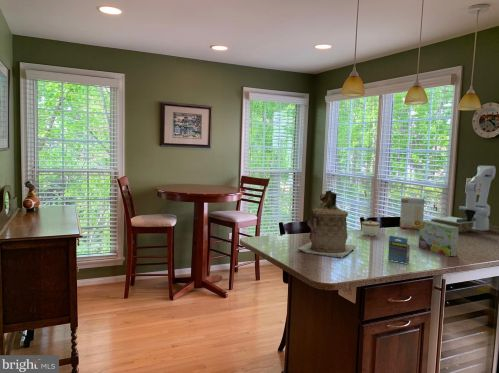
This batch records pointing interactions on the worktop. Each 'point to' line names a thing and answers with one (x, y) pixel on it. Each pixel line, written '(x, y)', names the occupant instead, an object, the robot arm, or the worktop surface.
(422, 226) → the snack box
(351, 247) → the cookie jar
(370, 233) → the lidded jar
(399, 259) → the label tape box
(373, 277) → the worktop surface
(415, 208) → the cracker box
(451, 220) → the lid
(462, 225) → the crate
